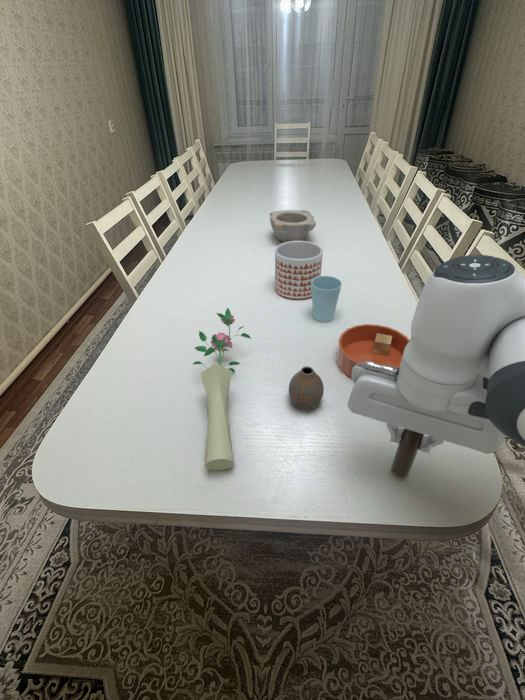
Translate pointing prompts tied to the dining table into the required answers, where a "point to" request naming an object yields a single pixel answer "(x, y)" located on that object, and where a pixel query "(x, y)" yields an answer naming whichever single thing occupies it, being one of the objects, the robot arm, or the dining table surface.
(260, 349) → the dining table surface
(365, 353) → the bowl
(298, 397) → the vase
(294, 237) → the mortar
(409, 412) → the robot arm
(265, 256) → the dining table surface
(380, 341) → the block
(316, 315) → the cup
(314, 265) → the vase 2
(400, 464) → the dark brown cylinder
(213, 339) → the flower vase
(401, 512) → the dining table surface
